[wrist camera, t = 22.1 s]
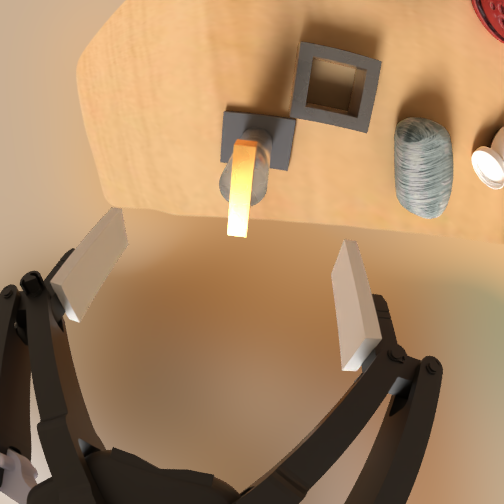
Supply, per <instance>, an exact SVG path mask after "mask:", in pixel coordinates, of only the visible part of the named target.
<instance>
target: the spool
mask: <svg viewBox="0 0 504 504" xmlns="http://www.w3.org/2000/svg"><path fill="white" fill-rule="evenodd" d="M394 157H395V159H394V163H395V187H396V195H397V198H398V200H399V202H400V204H401V205H402V206H403V207H404V208H406V209H407V210H408V211H410V212H411V213H414V214H416V215H418V216H420V217H423V218H427V219H431V218H436V217H438V216H440V215H441V214H442V213H443V211H444V210H445V208H446V206H447V204H448V201H449V198H450V194H451V189H452V182H453V153H452V144H451V139H450V135H449V133H448V131H447V130H446V129H445V128H444V127H443V126H442V125H440V124H438V123H437V122H434V121H432V120H429V119H426V118H419V117H409V118H406V119H403V120H401V121H400V122H399V123H398V124H397V126H396V130H395V135H394Z"/></svg>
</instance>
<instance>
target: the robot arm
mask: <svg viewBox="0 0 504 504" xmlns="http://www.w3.org/2000/svg"><path fill="white" fill-rule="evenodd" d="M127 246H128V240H127V235H126V230H125V225H124V219H123V213H122V209H121V208H111V209H110V210H109V211H108V212H107V213H106V214H105V215H104V216H103V217H102V218H101V219H100V221H99V222H98V223H97V224H96V225H95V226H94V227H93V228H92V230H91V231H90V232H89V233H88V234H87V235H86V237H85V238H84V239H83V240H82V241H81V243H80V244H79V245H78V246H77V247H76V249H74V248H72V249H71V250H69V251H68V252H67V253H65V254H64V256H63V257H62V258H61V259H60V261H59V262H58V263H57V264H56V266H55V267H54V268H53V270H52V271H51V272H50V273H49V275H48V276H47V277H46V279H45V280H44V281H43V279H42V277H41V275H40V273H39V272H38V271H31V272H29V273H27V274H25V275H24V276H23V277H22V279H21V281H20V286H21V287H22V289H23V291H18V289H17V287H16V286H15V285H8V286H6V287H5V288H4V289H3V290H2V291H1V293H0V491H2V492H3V493H4V494H6V495H7V496H9V497H10V498H12V499H13V500H15V501H16V502H18V503H19V504H299V503H300V502H301V501H302V500H303V499H304V497H305V496H306V494H307V492H308V490H309V489H310V488H311V487H312V486H313V485H314V484H315V483H316V482H317V481H318V480H319V479H320V478H321V477H322V476H323V475H324V474H325V473H326V472H327V471H328V469H329V468H330V467H331V466H332V465H333V464H334V463H335V462H336V461H337V460H338V458H339V457H340V456H341V455H342V454H343V453H344V451H345V450H346V449H347V448H348V447H349V445H350V444H351V443H352V442H353V440H354V439H355V438H356V437H357V435H358V434H359V433H360V432H361V430H362V429H363V428H364V426H365V425H366V424H367V422H368V421H369V420H370V418H371V417H372V415H373V414H374V413H375V411H376V410H377V408H378V407H379V405H380V403H382V401H383V399H384V398H385V397H386V395H387V394H388V393H389V394H392V396H391V400H390V402H389V405H388V408H387V411H386V414H385V417H384V419H383V422H382V425H381V427H380V430H379V433H378V435H377V437H376V440H375V442H374V445H373V447H372V449H371V452H370V454H369V456H368V458H367V460H366V463H365V465H364V467H363V469H362V471H361V473H360V475H359V477H358V479H357V481H356V483H355V485H354V487H353V489H352V491H351V492H350V494H349V496H348V498H347V500H346V502H345V503H344V504H406V502H407V500H408V497H409V495H410V492H411V490H412V487H413V485H414V482H415V480H416V477H417V474H418V472H419V469H420V466H421V463H422V459H423V457H424V454H425V450H426V447H427V443H428V440H429V437H430V433H431V429H432V425H433V421H434V417H435V412H436V408H437V403H438V398H439V393H440V387H441V380H442V374H443V368H442V365H441V363H440V362H439V360H438V359H436V358H435V357H433V356H426V357H425V358H423V359H422V360H418V359H415V358H412V357H409V356H407V354H406V352H405V350H404V349H403V348H402V347H401V346H400V345H398V344H397V340H396V336H395V332H394V328H393V324H392V320H391V316H390V313H389V309H388V306H387V302H386V301H385V300H384V298H383V297H382V296H381V295H376V294H371V290H370V286H369V282H368V279H367V275H366V271H365V268H364V264H363V261H362V258H361V254H360V251H359V248H358V244H357V241H353V240H347V239H344V241H343V244H342V246H341V249H340V252H339V255H338V258H337V260H336V263H335V266H334V269H333V271H332V274H331V278H332V285H333V291H334V299H335V307H336V315H337V324H338V333H339V342H340V353H341V364H342V370H344V371H357V370H358V369H359V367H360V366H361V365H362V374H361V375H360V376H359V377H358V378H357V379H356V380H355V381H354V384H353V385H352V386H351V387H350V388H349V390H348V391H347V392H346V393H345V394H344V396H343V397H342V398H341V399H340V401H339V402H338V403H337V404H336V405H335V406H334V407H333V409H331V411H330V412H329V413H328V414H327V415H326V416H325V417H324V418H323V419H322V420H321V422H320V423H319V424H318V425H317V426H316V427H315V428H314V429H313V430H312V431H311V432H310V433H309V434H308V435H307V436H306V437H305V438H304V439H303V440H302V441H301V442H300V443H299V444H298V445H297V446H296V447H295V448H294V449H293V450H292V451H291V452H290V453H288V454H287V455H286V456H285V457H284V458H283V459H282V460H281V461H280V462H279V463H277V465H275V466H274V467H273V468H272V469H271V470H269V471H268V472H267V473H266V474H265V475H263V476H262V477H261V478H259V479H258V480H257V481H255V482H254V483H253V484H252V485H250V486H249V487H248V488H247V489H245V490H244V491H243V492H241V493H240V494H239V493H238V492H237V491H236V490H235V489H234V488H233V487H232V486H230V485H229V484H227V483H226V482H224V481H222V480H220V479H218V478H216V477H214V475H212V474H207V473H201V472H196V471H192V470H177V469H176V470H175V469H159V468H158V467H156V466H154V465H152V464H150V463H149V462H147V461H145V460H143V459H141V458H139V457H137V456H136V455H133V454H130V453H128V452H125V451H122V450H119V449H117V448H114V447H113V449H112V450H106V449H105V447H104V445H103V443H102V441H101V440H100V438H99V437H98V436H97V434H96V433H95V430H94V428H93V426H92V423H91V420H90V417H89V414H88V412H87V409H86V406H85V403H84V400H83V397H82V393H81V390H80V387H79V383H78V379H77V376H76V372H75V368H74V364H73V361H72V356H71V351H70V347H69V342H68V337H67V332H66V327H65V321H64V319H63V315H64V313H65V312H66V314H67V316H68V318H69V319H71V320H74V321H77V322H79V323H80V322H81V320H82V318H83V316H84V315H85V313H86V311H87V309H88V308H89V306H90V304H91V303H92V301H93V299H94V297H95V296H96V294H97V292H98V291H99V289H100V288H101V286H102V284H103V283H104V281H105V280H106V278H107V276H108V275H109V273H110V272H111V270H112V269H113V267H114V265H115V264H116V262H117V261H118V259H119V258H120V256H121V255H122V253H123V252H124V250H125V249H126V247H127ZM31 372H32V379H33V384H34V390H35V395H36V400H37V405H38V409H39V414H40V419H41V420H40V423H38V424H37V431H38V435H39V439H40V442H41V445H42V448H43V452H44V455H45V458H46V461H47V464H48V467H49V469H50V472H51V475H52V477H51V478H48V479H47V480H45V481H43V482H41V483H39V484H37V483H36V481H35V479H36V478H37V475H38V473H37V470H36V469H35V468H34V467H33V466H32V464H31V431H30V378H31V377H30V376H31Z"/></svg>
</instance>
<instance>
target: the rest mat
mask: <svg viewBox="0 0 504 504" xmlns="http://www.w3.org/2000/svg"><path fill="white" fill-rule="evenodd" d="M295 122H296V120H295V119H291V118H285V117H278V116H271V115H263V114H254V113H245V112H234V111H224V116H223V129H222V144H221V159H220V162H224V163H228V161H229V159H230V157H231V156H232V154H233V149H234V144H235V142H236V140H237V139H241V137H242V135H243V133H244V132H245V131H246V130H248V129H250V128H253V127H259V128H263V129H265V130H266V131H267V132H268V133H269V134H270V135H271V138H272V149H271V158H270V166H269V168H273V169H279V170H286V171H288V165H289V159H290V153H291V147H292V141H293V135H294V128H295Z"/></svg>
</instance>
